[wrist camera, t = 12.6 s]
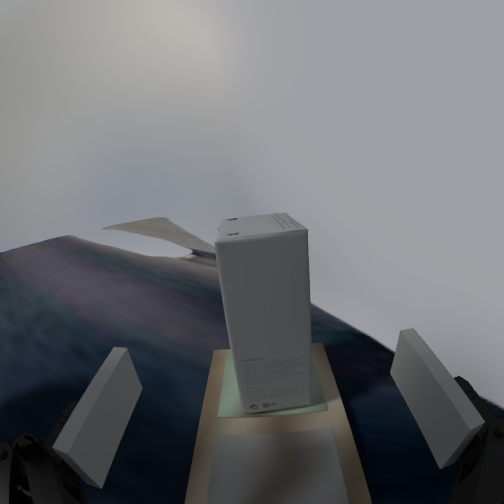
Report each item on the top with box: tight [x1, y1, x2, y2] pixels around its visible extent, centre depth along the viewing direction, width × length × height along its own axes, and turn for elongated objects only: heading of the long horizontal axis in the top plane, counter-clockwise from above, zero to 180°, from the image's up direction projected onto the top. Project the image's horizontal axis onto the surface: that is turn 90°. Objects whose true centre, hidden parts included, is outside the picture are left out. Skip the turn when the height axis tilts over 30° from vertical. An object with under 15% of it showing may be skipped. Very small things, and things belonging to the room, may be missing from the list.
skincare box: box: [215, 213, 311, 413], centre depth 22 cm, size 8×6×15 cm
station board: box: [185, 343, 372, 504], centre depth 19 cm, size 12×22×1 cm, turn 179°
